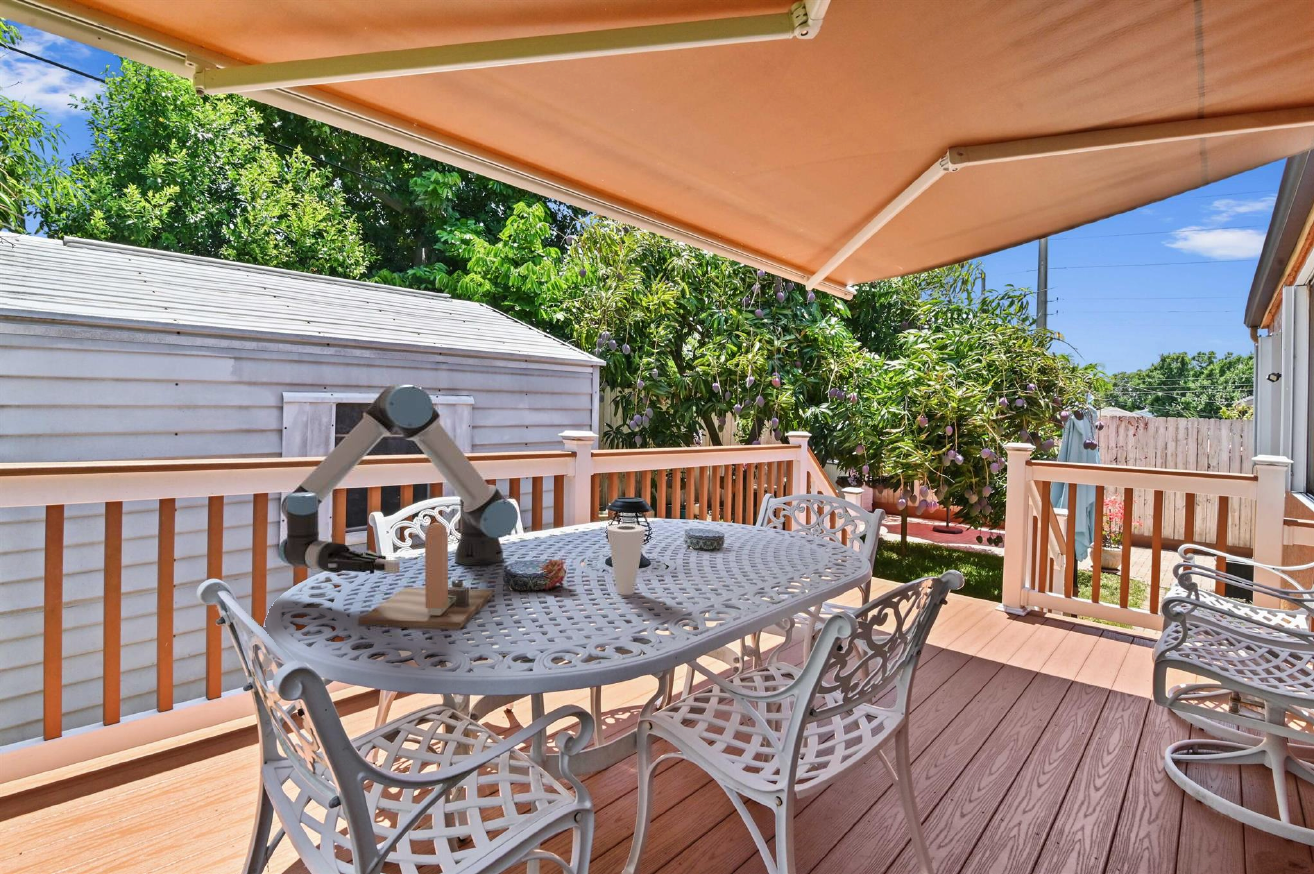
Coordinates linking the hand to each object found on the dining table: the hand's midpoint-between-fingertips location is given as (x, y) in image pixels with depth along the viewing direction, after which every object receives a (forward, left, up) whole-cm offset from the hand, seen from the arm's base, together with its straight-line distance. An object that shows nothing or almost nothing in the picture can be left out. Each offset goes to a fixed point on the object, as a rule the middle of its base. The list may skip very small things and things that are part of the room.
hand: (397, 567), depth 167 cm
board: (-8, +1, -11) cm, 14 cm away
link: (-11, +3, -10) cm, 15 cm away
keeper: (-14, +1, -10) cm, 17 cm away
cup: (-58, +12, -12) cm, 60 cm away
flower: (-42, -2, -12) cm, 43 cm away
